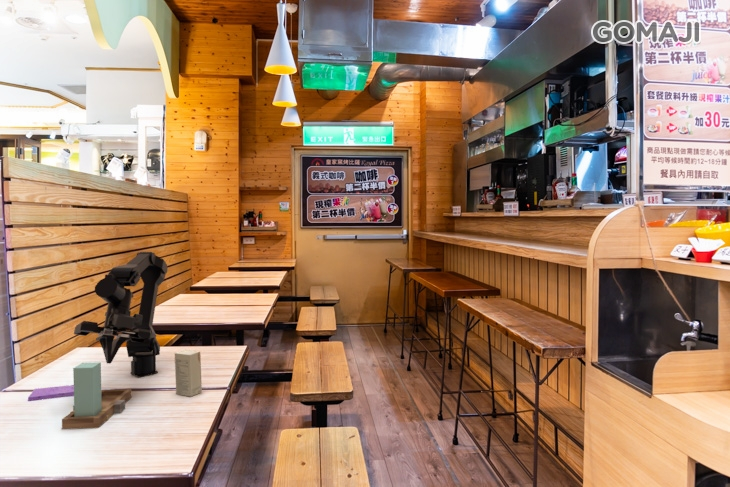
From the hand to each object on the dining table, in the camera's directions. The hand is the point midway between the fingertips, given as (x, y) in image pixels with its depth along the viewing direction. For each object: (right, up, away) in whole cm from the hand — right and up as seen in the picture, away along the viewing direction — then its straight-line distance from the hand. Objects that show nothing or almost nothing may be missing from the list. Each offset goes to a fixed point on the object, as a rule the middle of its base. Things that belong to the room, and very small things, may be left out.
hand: (108, 363), depth 127 cm
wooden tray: (+1, -11, -5) cm, 13 cm away
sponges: (-19, -12, +8) cm, 24 cm away
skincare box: (+19, -11, +8) cm, 23 cm away
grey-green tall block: (+1, -10, -12) cm, 16 cm away
